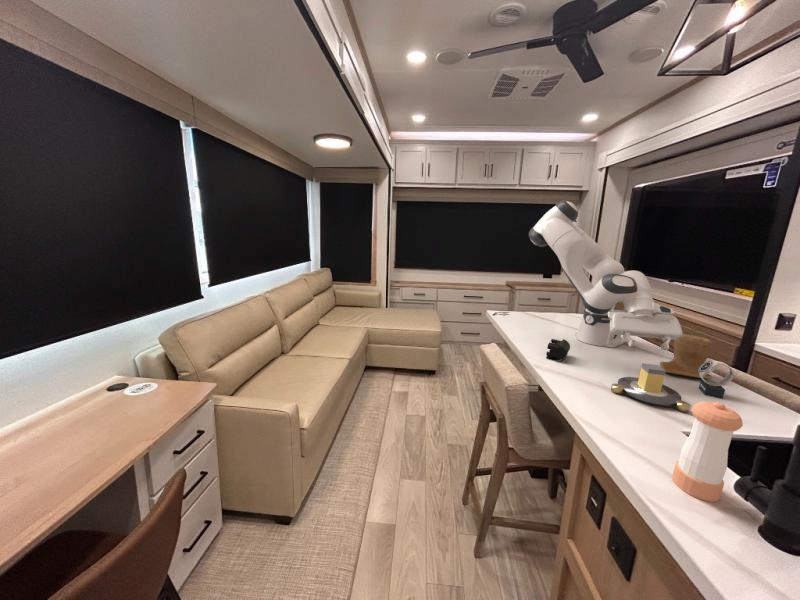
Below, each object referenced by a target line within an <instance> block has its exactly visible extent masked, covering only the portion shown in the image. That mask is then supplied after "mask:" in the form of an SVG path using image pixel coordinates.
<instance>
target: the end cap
mask: <svg viewBox="0 0 800 600" xmlns="http://www.w3.org/2000/svg"><path fill="white" fill-rule="evenodd" d="M570 348H571V345H570V343H569V341H567V339H564V338H563V339H562V340H559V339H556V338H555V339H554V338H551V339H550V342H548V343H547V348H546V349H547V350H548V351H546V356H545V359H546V360H551V361H555V362H562V361H563V360H565V358H567V355H568V353H569V352H570Z"/></svg>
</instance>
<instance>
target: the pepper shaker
mask: <svg viewBox="0 0 800 600" xmlns="http://www.w3.org/2000/svg"><path fill="white" fill-rule="evenodd" d="M691 413H692V415H693V417H694V421H693V424H692V428H691V431H690V434H689V435H688V437H687V439H686V440H685V442H684V443H683V446H682V448H681V451H680V456H679V459H678V460H677V461H676V462H675V464H674V468H673V472H672V476H671V480H672V482H673V483H674V484H675V485H676V487H678V488H679V489H680V490H682V491H683V492H685V493H686V494H688V495H690V496H692V497H694V498H695V499H699V500H701V501H704V502H705V501H706V502H709V503H710V502H718V501H719V500H720V498H721V495H722V492H723V488H724V485H725V481H724V480H723V479H724V476H725V474H726V473H727V472H726V471H727V468H728V459H729V457H728V456H729V447H730V444H731V443H732V442H731V441H732V438H733V435H734V432H736V431H738V430H740V429H741V428H742V427H743V425H744V423H743V419H742V417H741V416H740V414H739V413H738V412H736V411H735V410H733V409H731V408H729V406H728V407H727V405H725V404H724V403H721V402H717V401H715V402H713V401H699V402H697V403H695V404H693V406H692V407H691Z"/></svg>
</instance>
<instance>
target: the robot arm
mask: <svg viewBox="0 0 800 600" xmlns="http://www.w3.org/2000/svg"><path fill="white" fill-rule="evenodd" d="M578 217H579V211H578V208H577V206H576V205H575V203H573V202H571V201H568V200H565V199H564V200H563V199H562V200H560V201H559V202H557V203H555V206H553V207H552V208H550V209H549V210H547V212H545V214H543V216H542V217H541V218H540V219H539V220H538V221H537V223H535V225H534V226H532V227H531V229H530V230H529V232H528V238H529V239H530V241H531V242H532V243H533V245H535V246H538V247H540V248H543V247H546V246H547V245H548V246H549V247H550V248H551V250H552V251H553V252H554V253H555V255H556V256H557V258H558V261H559V262H560V265H561V269H562V271H563V273H564V275H565V277H567V279H568V280H569V282H570V284H571V285H572V287H573V288H574V289H575V290H576V292H577V294H578V295H579V297H580V299H581V302H582V305H583V306H584V307H585V309H584V310H583V315H582V319H581V320H580V323H579V325H578V328H577V332H575V333H574V336H576V339H577V340H579V341H581V342H582V343H585V344H588V345H593V346H600V347H607V348H616V347H619V346H621V345H624V344H625V343H626V342H627V344H628V347H631V348H632V347H636V345H637V342H636V340H634V339H632V337H633V336H634V337H641V338H653V339H661V340H662V342H663V343H661V344H660V349H661V350H663V351H669V349H670V345H669V344H670V342H671V340H673V341H674V340H676V339H678V338H679V337H680V336H681V335H682V334H684V333H683V330H682V329H683V328H682V326H681V323H680V322H679V320H678V318H677V317H676V316H675V315H674V314H675V310H674V309H673V308H671V307H667V306H665V305H661V304H659V303H656V302H655V300H654V299H653V297H652V293H653V292H652V289H651V288H652V287H651V285H650V282H649V280H648V278H647V276H646V275H645V273H643V272H642V271H639V270H628V271H627V270H626V271H625V268H624V266H623V265H622V263H621V262H619V261H618V260H615V259H613V258H612V257H611V256H610V255H609V254H608V252H606V251H605V250H604V249H603V247H602V246H600V244H598V243H597V242H596V241H595V240H594V239H593V238H592V237H591V236H590V235H588V234H587V232H586V231H584V230H583V229H581V227H579V226H577V225H576V223H577V221H578V220H577V219H578ZM573 222H575V224H574V223H573ZM584 270H585V271H586V272H587V273H588V274H590V275H591V277H592V279H591V280H592V281H590V280H589V278H588V277H587V275H586V274H585V272H584ZM618 303H622V304H623V308H624V309H615V307H616V304H618Z"/></svg>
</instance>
